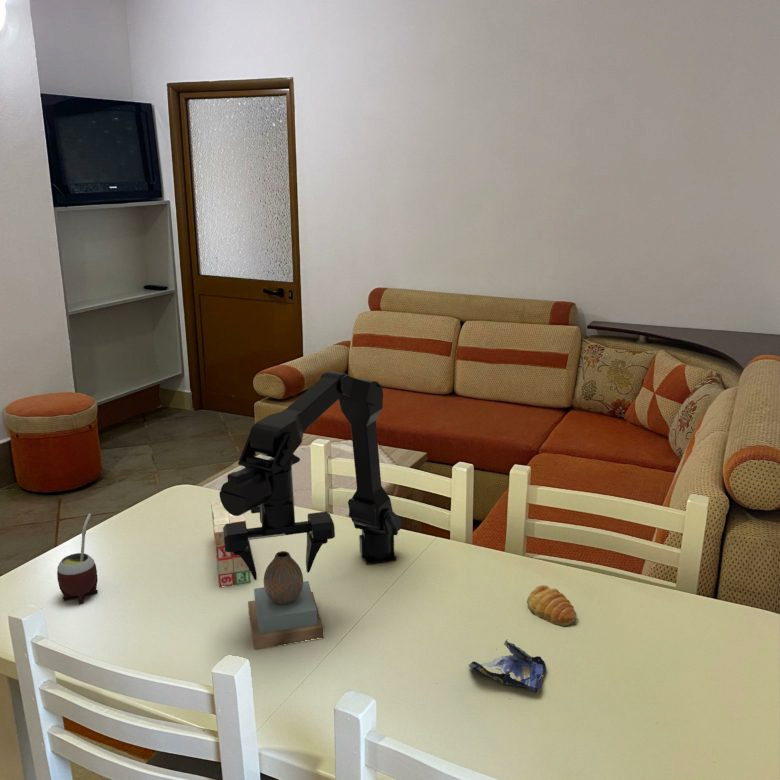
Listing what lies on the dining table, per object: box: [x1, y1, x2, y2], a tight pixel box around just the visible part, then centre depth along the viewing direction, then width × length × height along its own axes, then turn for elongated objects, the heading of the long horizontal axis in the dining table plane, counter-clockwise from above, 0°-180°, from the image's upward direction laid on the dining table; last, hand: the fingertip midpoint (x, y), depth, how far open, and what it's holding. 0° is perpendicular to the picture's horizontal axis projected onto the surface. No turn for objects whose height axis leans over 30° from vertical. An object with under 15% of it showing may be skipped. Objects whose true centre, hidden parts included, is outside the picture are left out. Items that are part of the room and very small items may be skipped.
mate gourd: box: [56, 513, 99, 606], centre depth 146 cm, size 8×8×15 cm
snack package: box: [468, 639, 547, 694], centre depth 122 cm, size 12×6×12 cm
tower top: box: [253, 580, 317, 634], centre depth 136 cm, size 10×10×3 cm
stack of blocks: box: [210, 500, 252, 588], centre depth 159 cm, size 21×6×12 cm, turn 15°
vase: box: [263, 550, 304, 605], centre depth 135 cm, size 7×7×9 cm
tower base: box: [247, 591, 325, 650], centre depth 137 cm, size 12×12×3 cm
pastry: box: [526, 584, 577, 627], centre depth 139 cm, size 9×7×4 cm
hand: (281, 575), depth 134 cm, fingers open, 9 cm apart
